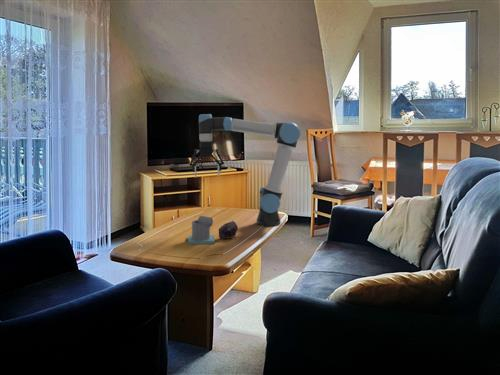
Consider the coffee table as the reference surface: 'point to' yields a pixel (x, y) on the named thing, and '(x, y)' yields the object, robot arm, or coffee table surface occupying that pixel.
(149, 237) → the coffee table surface
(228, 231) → the rock
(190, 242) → the teal lid with knob
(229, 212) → the coffee table surface
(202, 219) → the elbow
